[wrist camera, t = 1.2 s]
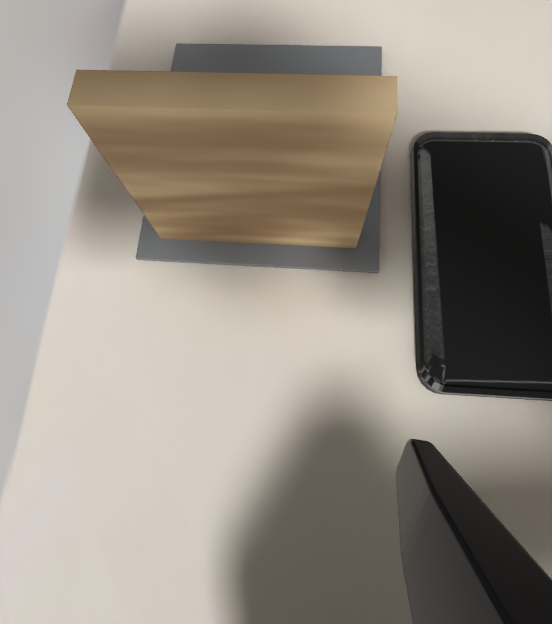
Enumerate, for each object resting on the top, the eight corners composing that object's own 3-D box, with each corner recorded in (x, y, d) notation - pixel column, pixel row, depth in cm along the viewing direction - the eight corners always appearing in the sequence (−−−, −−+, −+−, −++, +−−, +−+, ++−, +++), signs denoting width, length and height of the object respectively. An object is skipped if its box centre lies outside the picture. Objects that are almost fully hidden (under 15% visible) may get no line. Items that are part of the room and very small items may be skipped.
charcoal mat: (377, 272, 23) (378, 270, 22) (137, 259, 24) (135, 257, 23) (380, 50, 27) (381, 46, 27) (177, 47, 28) (176, 43, 28)
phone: (421, 391, 20) (413, 131, 24) (415, 393, 21) (408, 144, 25) (592, 401, 20) (554, 133, 24) (577, 403, 21) (543, 146, 25)
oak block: (356, 248, 23) (397, 113, 13) (161, 238, 24) (67, 105, 14) (356, 223, 23) (397, 76, 14) (165, 214, 24) (76, 69, 14)
